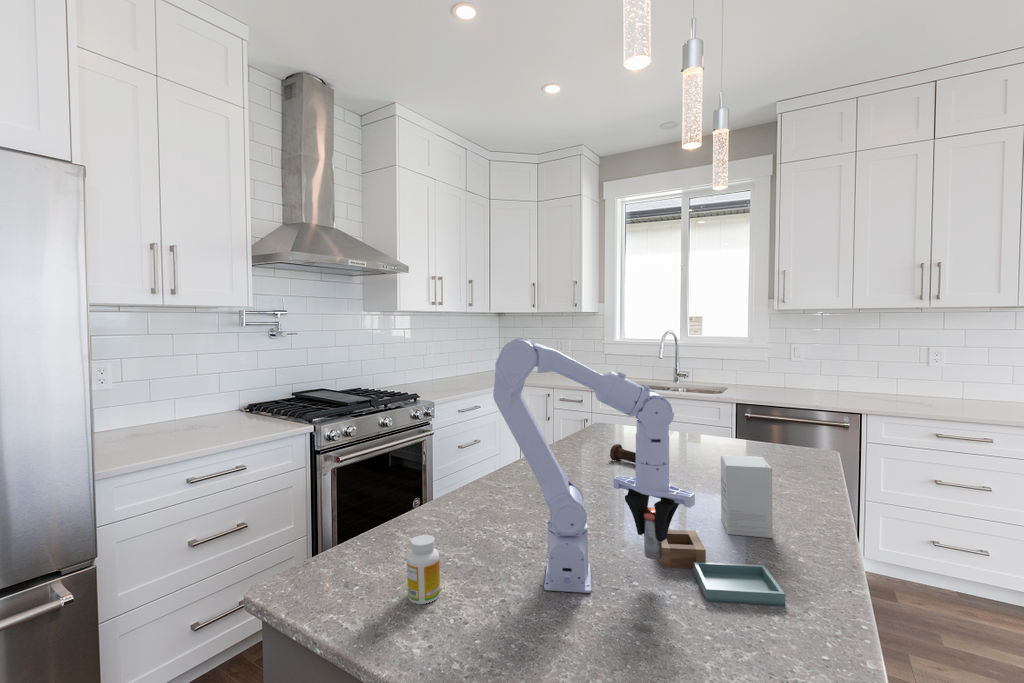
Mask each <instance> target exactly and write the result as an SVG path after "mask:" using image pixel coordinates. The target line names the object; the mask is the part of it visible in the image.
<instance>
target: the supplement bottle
mask: <svg viewBox="0 0 1024 683" xmlns="http://www.w3.org/2000/svg"><path fill="white" fill-rule="evenodd" d="M435 541H436V540H435V537H434V536H432V535H430V534H420V535H417V536H414V537H412V538H411V540H410V550H411V551H409V552H408V554H407V557H406V570H407V571H406V572H407V573H406V574H407V576H406V577H407V597H408V600H409V601H410V602H411V603H413V604H415V603H416V604H415V605H427V604H430V603H432V601H433V602H435V601H436V600H437V599H439V597H440V594H441V571H440V569H441V568H440V553H439V551H438V550H437V549H436V542H435ZM434 600H435V601H434ZM429 602H430V603H429ZM426 603H427V604H426Z"/></svg>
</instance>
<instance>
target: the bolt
mask: <svg viewBox="0 0 1024 683" xmlns="http://www.w3.org/2000/svg"><path fill="white" fill-rule="evenodd" d="M609 456H610V457H609V458H610V460H618V459H621V460H623V461H626V462H627V461H628V462H630V463H634V464H636V451H631V450H627V449H624V448H623V446H622V444H619V443H616V444H613V445H612V447H611V448H610V451H609ZM618 461H619V460H618Z"/></svg>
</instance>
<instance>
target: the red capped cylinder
mask: <svg viewBox="0 0 1024 683" xmlns="http://www.w3.org/2000/svg"><path fill="white" fill-rule="evenodd" d="M642 517H643V519H644V534H643V546H644V548H643V549H644V553H643V554H644V557H646V558H647V559H649V560H658V559H660V558H662V542H660V541H658V538H657V516H656V511H655V507H649V506H648V508H644V509H642Z"/></svg>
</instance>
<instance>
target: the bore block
mask: <svg viewBox="0 0 1024 683" xmlns="http://www.w3.org/2000/svg"><path fill="white" fill-rule="evenodd" d="M706 552H707V551H706V547H705V546H704V544H703V543H702V540H701V538H700V537H699V535H698V533H697V532H696V530H684V529H683V530H682V529H681V530H680V529H668V533H667V538H666V539H665V540H664V541H662V558H660V559H659V560H658V562H659V566H660V567H661V568H676V569H677V568H678V569H679V568H680V569H693V562H707V561H706V559H707V558H706V557H707V556H706V555H707V553H706Z"/></svg>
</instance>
